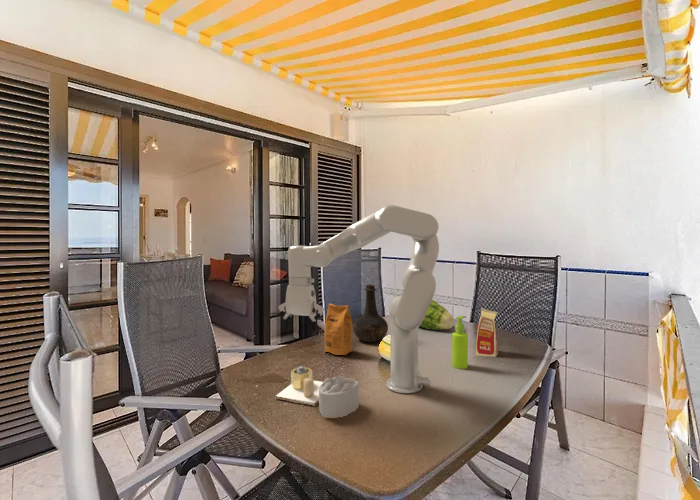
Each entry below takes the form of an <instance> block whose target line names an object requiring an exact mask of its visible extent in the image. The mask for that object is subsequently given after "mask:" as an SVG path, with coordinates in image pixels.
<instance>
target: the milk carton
mask: <svg viewBox="0 0 700 500" xmlns="http://www.w3.org/2000/svg"><path fill="white" fill-rule="evenodd" d="M480 312H481V313H480V318H479V320H478V321H479V322H478V324H477V333H476V338H475V339H476V340H475V356H479V357H480V356H481V357H492V358H493V357H494V358H496V357H497V355H498V354H499V351H498V341H497V335H496V334H497V333H496V324H495V318H496V316H497V314H498V313H499V312H498V311H493V310H489V309H487V308H486V309H485V308H483V307H480Z"/></svg>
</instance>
